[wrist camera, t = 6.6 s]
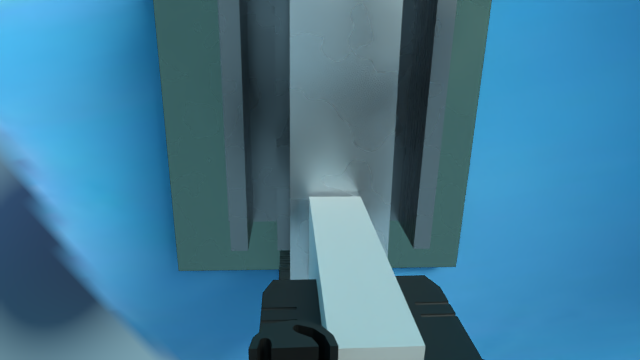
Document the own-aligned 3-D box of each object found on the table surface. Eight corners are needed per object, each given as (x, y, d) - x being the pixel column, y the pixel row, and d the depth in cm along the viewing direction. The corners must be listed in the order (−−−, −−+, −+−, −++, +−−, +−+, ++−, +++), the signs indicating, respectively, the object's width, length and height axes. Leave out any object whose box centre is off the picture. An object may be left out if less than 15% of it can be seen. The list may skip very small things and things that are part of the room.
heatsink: (146, -154, 17) (-5, -337, 9) (500, -138, 18) (699, -288, 9) (184, 277, 24) (121, 433, 15) (447, 273, 25) (536, 417, 16)
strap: (281, -197, 12) (280, -239, 10) (412, -191, 12) (431, -230, 10) (284, 334, 16) (284, 367, 14) (381, 332, 16) (391, 363, 14)
